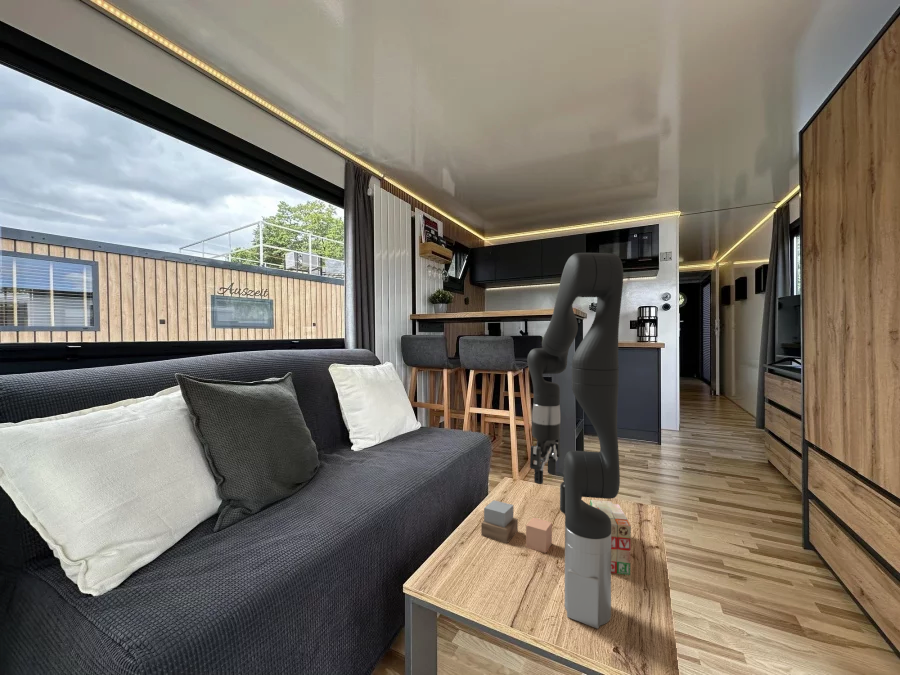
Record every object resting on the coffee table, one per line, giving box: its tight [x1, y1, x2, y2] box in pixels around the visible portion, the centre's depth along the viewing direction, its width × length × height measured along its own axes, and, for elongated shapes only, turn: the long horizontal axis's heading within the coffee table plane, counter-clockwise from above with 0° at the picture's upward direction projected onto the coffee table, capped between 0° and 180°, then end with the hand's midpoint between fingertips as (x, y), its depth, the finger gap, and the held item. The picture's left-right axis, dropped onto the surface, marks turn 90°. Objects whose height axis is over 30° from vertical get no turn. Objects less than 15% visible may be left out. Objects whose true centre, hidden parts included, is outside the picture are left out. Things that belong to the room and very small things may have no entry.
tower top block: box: [483, 499, 514, 528], centre depth 111 cm, size 6×6×4 cm
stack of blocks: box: [589, 499, 632, 576], centre depth 102 cm, size 21×6×12 cm, turn 168°
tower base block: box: [480, 517, 519, 544], centre depth 111 cm, size 8×8×4 cm
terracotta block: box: [525, 517, 553, 554], centre depth 104 cm, size 6×6×6 cm
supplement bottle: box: [559, 474, 583, 515], centre depth 125 cm, size 7×7×12 cm
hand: (545, 478), depth 104 cm, fingers open, 8 cm apart
